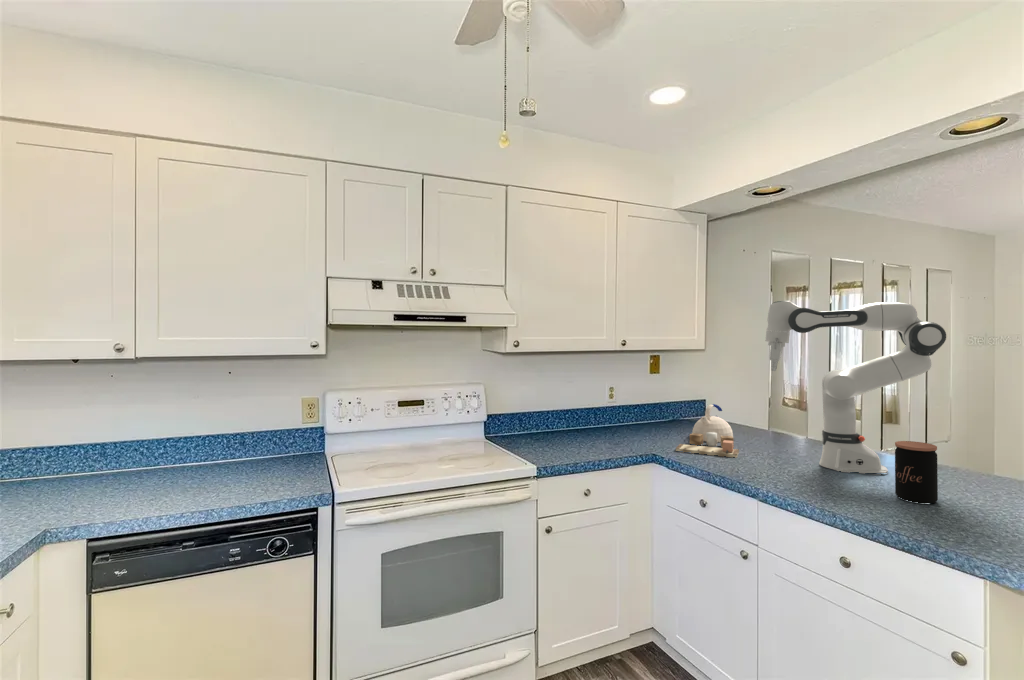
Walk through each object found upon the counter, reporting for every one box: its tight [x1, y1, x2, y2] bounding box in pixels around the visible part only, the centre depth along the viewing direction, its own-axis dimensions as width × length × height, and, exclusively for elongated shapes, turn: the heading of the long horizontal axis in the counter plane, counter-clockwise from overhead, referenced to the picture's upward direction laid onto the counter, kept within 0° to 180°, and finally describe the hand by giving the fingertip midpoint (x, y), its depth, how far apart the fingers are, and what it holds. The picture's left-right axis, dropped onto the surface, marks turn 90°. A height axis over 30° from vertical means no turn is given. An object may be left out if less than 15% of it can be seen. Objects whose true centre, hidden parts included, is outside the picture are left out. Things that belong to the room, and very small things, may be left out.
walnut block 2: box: [720, 436, 735, 449], centre depth 233 cm, size 5×5×5 cm
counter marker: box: [723, 440, 733, 452], centre depth 218 cm, size 4×7×4 cm, turn 150°
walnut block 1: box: [689, 432, 704, 446], centre depth 240 cm, size 5×5×5 cm
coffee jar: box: [894, 440, 939, 504], centre depth 157 cm, size 11×11×18 cm
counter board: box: [675, 443, 740, 459], centre depth 224 cm, size 26×10×2 cm, turn 60°
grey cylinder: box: [705, 432, 718, 447], centre depth 237 cm, size 5×5×6 cm
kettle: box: [691, 403, 734, 443], centre depth 253 cm, size 20×21×18 cm
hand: (773, 370), depth 208 cm, fingers open, 8 cm apart
